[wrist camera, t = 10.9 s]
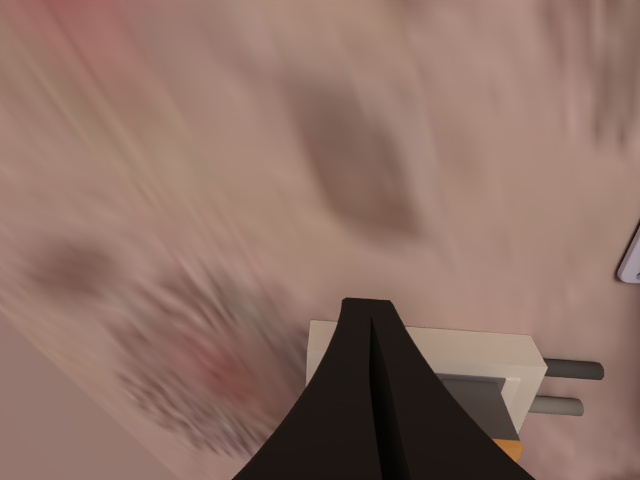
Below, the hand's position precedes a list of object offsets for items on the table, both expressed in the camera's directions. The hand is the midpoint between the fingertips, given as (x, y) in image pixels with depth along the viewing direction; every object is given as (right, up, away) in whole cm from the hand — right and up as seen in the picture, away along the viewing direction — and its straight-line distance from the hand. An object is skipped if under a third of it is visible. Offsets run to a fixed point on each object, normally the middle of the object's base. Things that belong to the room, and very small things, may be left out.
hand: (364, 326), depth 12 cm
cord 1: (+13, -5, +13) cm, 19 cm away
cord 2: (+13, -8, +15) cm, 21 cm away
